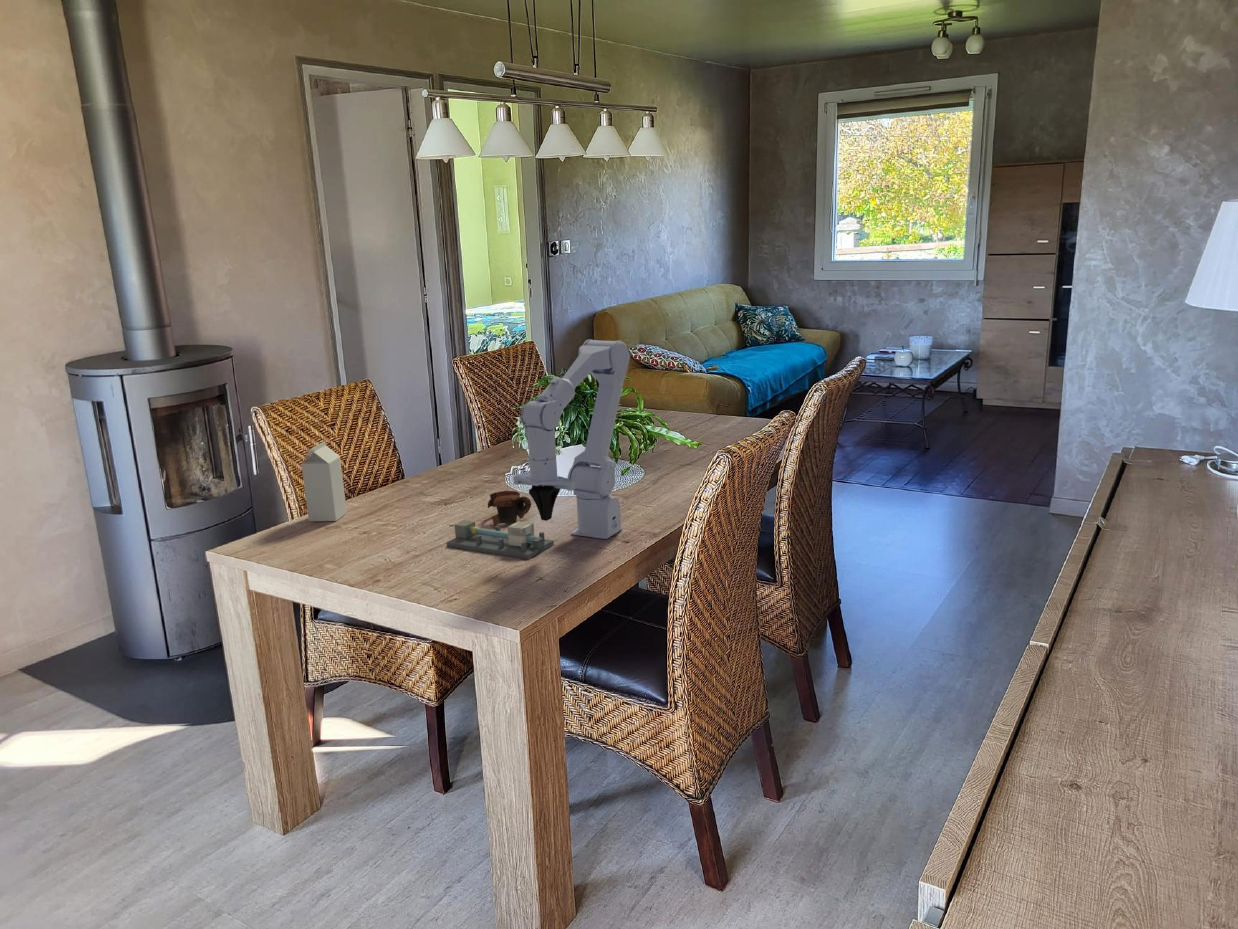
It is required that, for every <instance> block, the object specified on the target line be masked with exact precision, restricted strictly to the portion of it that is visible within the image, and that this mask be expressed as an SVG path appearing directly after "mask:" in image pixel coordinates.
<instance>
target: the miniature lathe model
mask: <svg viewBox="0 0 1238 929" xmlns="http://www.w3.org/2000/svg"><path fill="white" fill-rule="evenodd" d="M454 535H455V537H454V538H452V539H450V540H448V541H446V547H451V548H454V549H456V548H457V549H461V550H466V551H467V550H468V551H473V552H481V553H487V554H493V555H500V556H504V557H506V556H507V557H511V558H512V557H513V558H519V559H524V560H530V559H531V558H533V557H534V556H537V555H538V554H540V553H541V552H544V551H545V550H546V549H549V548H550V547H552V546H554V545H555V542H554V539H549V538H547V539H546V538H545V532H544V531H540V532H538V536H535V535H534V536H529V535H526V542H522V543H521V546H514V545H509V540H508V531H501V526H500V525H495V526H494V530H492V529H487V528H480V527H479V526H476V522H475V521H473V520H472V521H471V520H467V519H465V520H462V521H459V522H457V523H455V524H454ZM526 545H527V546H526Z"/></svg>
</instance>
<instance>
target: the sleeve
mask: <svg viewBox="0 0 1238 929" xmlns="http://www.w3.org/2000/svg"><path fill="white" fill-rule="evenodd" d="M534 524H535V523H533V522H530V521H516V523H511V524H510V525H508V526H507V532H508V540H509V545H514V546H521V543H522V542H526V535H529V536H535V528H534V526H535V525H534ZM526 546H527V545H526Z"/></svg>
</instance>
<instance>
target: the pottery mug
mask: <svg viewBox="0 0 1238 929" xmlns="http://www.w3.org/2000/svg"><path fill="white" fill-rule="evenodd" d="M489 497H490V499H489V500H488V502H487V509H490V507H493V508H496V511H497V514H494V515H492V516H491V520H492V524H493V525H495V526H496V525H499V524H514V523H516V522H517V518H519V519H523V518H524V516H525V515H526V514H528V513H529V511H530V509H531V506H532V502H531V500H530V498H529V497H527V496H521V493H520V492H519V491H517V490H502V491H497V492H493V493H491V494H490V495H489Z"/></svg>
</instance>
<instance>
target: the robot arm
mask: <svg viewBox="0 0 1238 929" xmlns="http://www.w3.org/2000/svg"><path fill="white" fill-rule="evenodd" d="M630 359H631V354H630V351H629V349H628V347H627V344H626V343H625V342H624V340H596V339H592V338H591V339H589V338H588V339H586V340H585V341H584V342H583V344H582V345H581V346H579V348H578V356H577V357H576V358H575V361H574V362H573V363H572V364H571V366H570V367H569V368H568V369H567V371H566V372H565V374H564V375H563V376H562V377H555V378H552V379H551V380H550V382H549V385H547V386H546V388H544V390H543V391H542V392H541V393H540V394H539V395H538V396H537V398H536V399H535V400H530V401H528V402H527V403H525V404H524V406H523V407H522V410H521V412H520V414H521V415H520V416H519V420H520V423H521V425H522V426H523V428H524V434H525V435H526V437H527V446H528V447H527V448H528V460H529V473H516V474H515V475H513V485H516V486H518V485H525V486H531V488H530V489H528V494H529V495H530V497H531V498H532V500H533V502H534V503H535V505H536V507H537V510H538V512H539V516H540V520H541V521H545V522H547V521H549V520H551V519H552V518H553V511H554V507H555V503H556V501H557V498H558V495H559V494H560V491H561V490H566V491H569V492H572V491H573V495H574V496H576V510H577V511H576V512H577V528H576V529H574V530H572V531H571V532H570V535H573V536H581V537H586V538H587V537H588V538H595V539H601V540H602V539H603V540H607V539H609V538H610V537H612V536H613V535H615V534H617V533H618V532H620V531H622V530H623V526H622V523H621V522H622V521H621V520H622V519H621V503H620V501H619V499H618V498H617V497H615V496H612V495H611V493H612V492H613V490H614V487H615V485H616V477H615V476H616V475H615V474H616V473H615V472H616V468H617V466H616V464H615V463H614V461H613V460H612V459H611V457H610V456H609V452H610V445H611V442H612V437H613V433H614V429H615V428H614V427H615V424H616V418H617V414H618V410H619V406H620V401H621V396H622V391H623V387H624V381H625V380H626V376H627V372H628V369H629V363H630ZM589 375H591V376H592V378H594V379H595V380H596V381H597V382H598V390H597V393H596V398H595V402H594V407H593V412H592V417H591V421H590V425H589V430H588V435H587V439H586V444H585V448H584V451H582V452H581V453H579V454H578V455H576V456H575V457H574V460H573V463H572V466H571V468H570V469H569V471H568V474H567V477H564V476H561V475H558V467H557V465H558V464H557V450H556V449H557V448H556V432H555V428H556V427H558V425H559V424H560V420H561V415H562V414H563V411H564V409H565V408H566V407H567V405H569V403H570V402H571V401H572V400H573V399H574V398H575V395H576V391H575V388H577V387H578V386H579V385H580V384H581V383H582V382H583V381H584V380H585V379H586V378H587V377H588V376H589Z"/></svg>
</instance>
